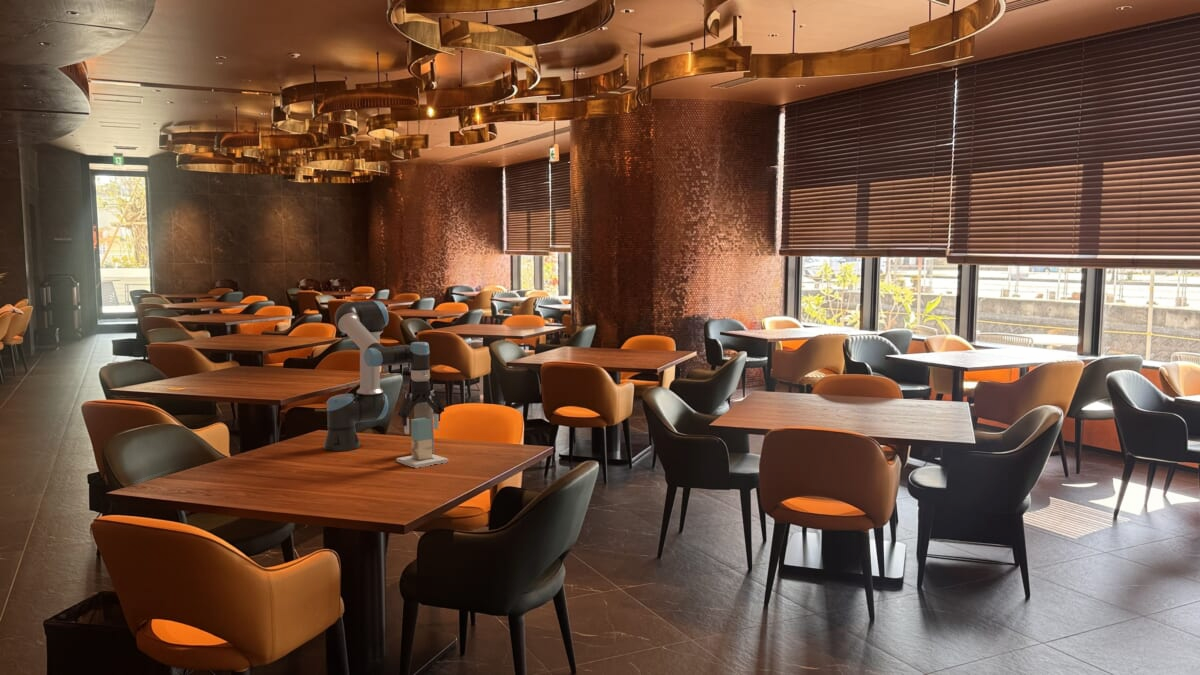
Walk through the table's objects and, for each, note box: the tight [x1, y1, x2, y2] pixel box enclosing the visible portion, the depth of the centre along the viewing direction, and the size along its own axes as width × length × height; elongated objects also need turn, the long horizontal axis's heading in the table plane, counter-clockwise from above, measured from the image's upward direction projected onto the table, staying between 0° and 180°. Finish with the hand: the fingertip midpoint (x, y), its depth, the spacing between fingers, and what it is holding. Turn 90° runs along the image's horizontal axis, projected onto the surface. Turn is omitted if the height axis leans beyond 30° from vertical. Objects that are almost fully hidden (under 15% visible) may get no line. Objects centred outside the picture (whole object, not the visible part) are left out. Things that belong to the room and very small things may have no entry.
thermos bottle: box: [413, 395, 435, 454], centre depth 385 cm, size 8×8×28 cm
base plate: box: [396, 453, 449, 469], centre depth 369 cm, size 16×15×2 cm
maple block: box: [411, 439, 432, 460], centre depth 369 cm, size 6×6×8 cm
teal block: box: [410, 418, 432, 441], centre depth 368 cm, size 6×6×8 cm
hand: (421, 431), depth 368 cm, fingers open, 13 cm apart
